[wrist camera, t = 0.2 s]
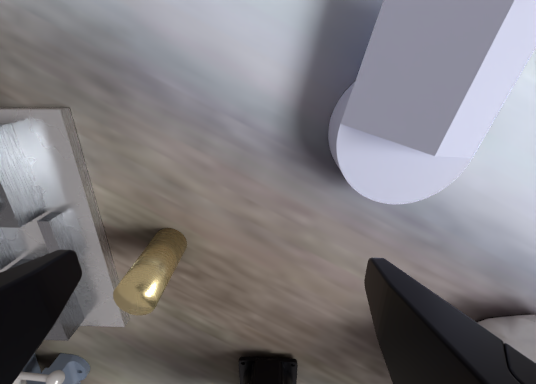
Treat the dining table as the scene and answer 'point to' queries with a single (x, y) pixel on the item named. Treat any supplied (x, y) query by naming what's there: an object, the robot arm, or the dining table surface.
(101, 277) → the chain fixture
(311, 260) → the dining table surface
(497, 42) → the wedge on round base
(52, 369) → the vise
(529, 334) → the vase
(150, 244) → the pin
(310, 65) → the dining table surface
